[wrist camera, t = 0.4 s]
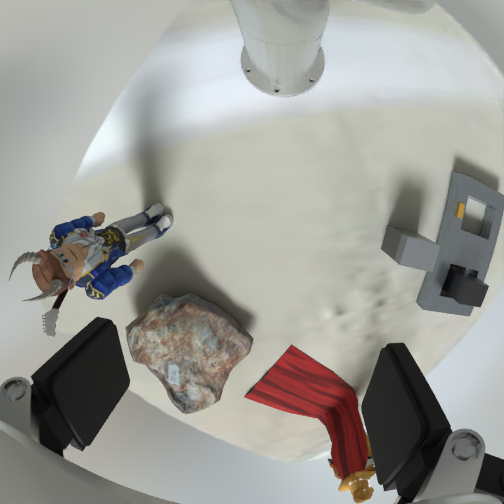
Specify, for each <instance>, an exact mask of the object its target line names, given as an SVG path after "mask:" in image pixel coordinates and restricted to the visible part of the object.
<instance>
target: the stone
mask: <svg viewBox="0 0 504 504" xmlns="http://www.w3.org/2000/svg"><path fill="white" fill-rule="evenodd" d="M126 332H127V333H126V334H127V342H128V346H129V350H130V353H131V356H132V359H133V361H134V362H136V363H139V364H143V365H146V366H147V367H148V369H149V370H150V371H151V372H152V373H153V374H154V375H155V376H156V377H157V378H158V379H159V380H160V381H161V382H162V384H163V385H164V387H165V389H166V391H167V393H168V396H169V399H170V400H171V402H172V403H173V404H174V405H175V406H176V407H177V408H178V409H179V410H180V411H181V412H182V413H184V414H189V413H195V412H197V411H200V410H203V409H205V408H208V407H209V406H211V405H213V404H215V403H216V402H217V401H219V400H220V398H221V395H222V390H223V387H224V384H225V382H226V380H227V379H228V376H229V373H230V372H231V370H232V368H233V367H234V366H235V365H236V364H237V363H239V362H240V361H241V360H242V359H243V358H244V357H245V356H246V355H248V354H249V352H250V350H251V346H252V343H253V338H252V336H251V335H250V334H249V333H248V332H246V331H245V330H244V329H242V328H241V327H240V325H239V324H238V323H237V322H236V320H235V319H234V318H232V317H231V316H230V315H228V314H227V313H225V312H224V311H223V310H222V309H221V308H220V307H219V306H217V305H216V304H214V303H212V302H208V301H205V300H203V299H201V298H200V297H198V296H196V295H195V294H192V293H189V294H186V295H183V296H181V297H178V298H171V297H169V296H168V295H166V294H160V295H158V296H157V297H156V298H155V299H154V301H153V302H152V303H151V305H150V306H149V308H148V309H147V310H146V311H145V312H144V313H143V314H142V315H141V316H139V317H138V318H136V319H135V320H134V321H132V322H131V323H130V324H129V325H128V326H127V327H126Z"/></svg>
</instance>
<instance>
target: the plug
mask: <svg viewBox="0 0 504 504" xmlns="http://www.w3.org/2000/svg"><path fill="white" fill-rule="evenodd" d="M381 249H382V250H383V251H384V252H385V253H387V254H388V255H389V256H390V257H391V258H392V259H393V260H395V261H396V262H397V263H398V264H399V265H403V266H407V267H412V268H416V269H420V270H425V271H429V272H433V269H434V266H435V263H436V259H437V256H438V253H439V250H440V245H438V244H436V243H435V242H433V241H431V240H429V239H427V238H425V237H423V236H422V235H420V234H418V233H415V232H411V231H408V230H404V229H400V228H397V227H393V226H389V225H387V229H386V233H385V236H384V240H383V244H382V247H381Z"/></svg>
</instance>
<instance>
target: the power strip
mask: <svg viewBox="0 0 504 504" xmlns="http://www.w3.org/2000/svg"><path fill="white" fill-rule="evenodd" d="M468 197H469V198H471V199H474V200H476V201H478V202H480V203H482V204H484V205H486V211H485V216H484V220H483V224H482V228H481V232H480V236H478V235H475V234H473V233H470V232H467V231H465V230H462V229H461V226H462V222H463V218H464V214H465V209H466V204H467V200H468ZM503 211H504V195H503V194H501V193H499V192H498V191H496V190H494V189H492V188H490V187H488V186H486V185H485V184H483V183H481V182H479V181H477V180H475V179H473V178H471V177H469V176H467V175H464V174H462V173H455V172H452V175H451V181H450V186H449V192H448V197H447V201H446V206H445V210H444V215H443V219H442V223H441V227H440V231H439V235H438V238H437V242H436V244H438V245H440V250H439V253H438V256H437V259H436V263H435V266H434V269H433V272H429V271H427V274H426V277H425V280H424V282H423V285H422V288H421V291H420V293H419V296H418V298H417V301H416V303H417V304H418V305H419V306H420V307H421V308H422V309H423V310H429V311H435V312H442V313H449V314H456V315H463V316H470V315H471V312H472V310H473V308H474V306H475V307H481V305H482V302H483V300H484V298H485V295H486V292H487V290H488V287H489V286H488V285H487V284H486V283H484V279H485V277H486V274H487V271H488V268H489V265H490V262H491V258H492V255H493V252H494V248H495V245H496V241H497V237H498V233H499V229H500V225H501V220H502V216H503ZM450 264H454V265H458V266H462V267H465V268H469V269H470V270H469V272H468V271H467V270H464V269H460V268H456V267H452V266H450ZM442 289H443V290H444V291H445V292H444V291H441V290H442Z"/></svg>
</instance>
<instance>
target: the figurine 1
mask: <svg viewBox="0 0 504 504" xmlns="http://www.w3.org/2000/svg"><path fill="white" fill-rule="evenodd" d="M163 210H164V208H163V206H162V205H161V204H159V203H155V204H153V205H151V206H150V207H149V208H147V209H146V210H145V211H144V212H142V213H140V214H137V215H135V216H132V217H128V218H125V219H122V220H119V221H117V222H114V223H112V224H110V225H109V226H107V227H106V228H105V229H100V230H95V231H94V230H93V229H92V227H98V226H101V224H102V223H103V222H104V218H105V214H104V213H102V212H99V213H96V214H94V215H93V216H83V217H81V218H79V219H75V220H72V221H70V222H66V223H62V224H59V225H56V226H55V228H54V229H53V231H52V233H51V235H50V238H49V239H50V244H51V246H50V247H51V248H52V249H53V250H52V249H50V250H47V251H44V250H40V251H39V252H37V253H34V252H31V253H30V252H27V253H24V254H23V255H22V256H20V257H19V258H18V259H17V261H16V262H15V264H14V267H13V269H12V272H11V275H12V273H13V271H14V269H15V268H16V267H17V266H18V264H21V263H22V262H26V261H28V262H33V266H32V272H33V278H34V280H35V282H36V284H37V286H38V287H39V289H40V290H41V291H42V292H43V293H42V294H41V295H39V296H37V297H35V298H32V299H28V300H24V301H33V300H40V299H45V298H47V297H50V296H56V295H58V297H57V299H56V301H55V303H54V305H53V307H52V309H51V310H50V311H49V312H47V313H45V318H43V319H45V321H43V322H45V324H43V326H44V325H45V328H46V331H44V332H46V335H47V336H48V337H52V338H53V337H54V336H55V334H56V333H55V328H56V324H55V322H56V321H57V319H58V316H57V315H58V313H59V308H60V306H61V303H62V301H63V299H64V297H65V296H66V294H67V292H68V290H72V289H73V288H74V285H76V286H78V287H85V290H86V294H87V296H89V297H90V298H92V299H98V300H103V299H104V298H105V297H107V296H108V295H109V294H110V293H111V292H112V291H113V290H115V289H116V288H118V287H119V286H122V285H125V284H126V283H128V282H130V280H131V279H132V277H133V276H134V275H135V274H136V273H138V272H139V271H140V270H141V269H142V268H143V265H144V263H143V261H142V260H138V259H135V260H134V261H133V262H132V263H131V264H130V265H129V266H127V265H122V266H119V267H118V268H111V265H112V264H114V263H115V262H116V261H117V259H118V258H119V257H122V256H124V255H127V254H128V253H129V252H130V251H132V250H135V249H136V248H138V247H139V246H141V245H143V244H144V243H146V242H148V241H151V240H153V239H156V238H160V237H162V236H163V235H165V234H166V233H167V232H168V231H169V230H170V228H171V227H172V225H173V218H172V216H171V215H169V214H166V215H163V216H162V217H161V215H162V213H163ZM158 218H159V219H158ZM157 219H158V220H157ZM156 220H157V221H156ZM155 221H156V222H155ZM152 224H153V225H152ZM148 226H149V227H148ZM143 227H147V228H145V229H143V230H141V231H138V232H135V233H132V234H129V235H127V233H129V232H130V231H132V230H135V229H139V228H143ZM11 275H10V277H11ZM42 317H43V315H42ZM43 329H44V328H43Z"/></svg>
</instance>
